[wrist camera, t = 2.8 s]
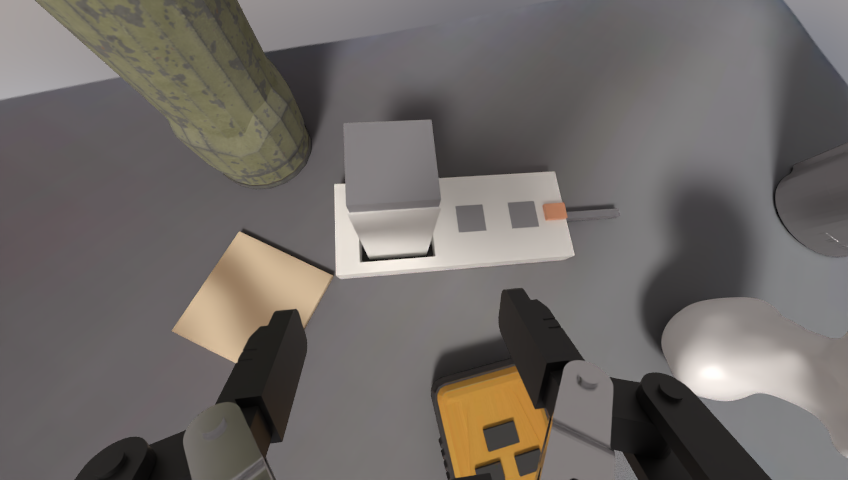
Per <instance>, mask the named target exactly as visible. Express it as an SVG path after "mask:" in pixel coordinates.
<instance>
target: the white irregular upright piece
mask: <svg viewBox="0 0 848 480" xmlns="http://www.w3.org/2000/svg"><path fill="white" fill-rule="evenodd" d="M661 345H662V350H663V353H664V356H665V358H666V360H667V363H668V365H669V367H670V369H671V372H672V374H673V376H674V377H675V379H677V380H679V381H681V382H682V383H683V384H685V385H686V386H687V387H688V388H690V389H691V390H692V391H693V393H694V394H695V395H697V396H700V397H704V398H708V399H713V400H718V401H732V400H737V399H741V398H744V397H747V396H749V395H752V394H754V393H765V394H770V395H773V396H776V397H779V398H781V399H784V400H786V401H789V402H791V403H793V404H795V405H797V406H799V407H801V408H803V409H805V410H807V411H808V412H810V413H812V414H813V415H814V416H816V417H817V418H818V419H819V420H820V421H821V422H822V423H823V424H824V425H825V426H826V428H827V429H828V431H829V433H830V437H831V440H832V443H833V445H834V446H835V448H836V449H837V450H838V451H839V452H840V453H841V454H842V455H843V456H845V457H846V458H848V332H847V333H846V334H845V335H844V336H843V337H842V338H829V337H826V336H823V335H820V334H817V333H815V332H812V331H809V330H807V329H805V328H803V327H802V326H800V325H798V324H797V323H795V322H793V321H791V320H789V319H787V318H785V317H783V316H782V315H781V314H780V313H779V311H778V310H777V309H776V308H775V307H773V306H772V305H771V304H769V303H767V302H765V301H763V300H760V299H756V298H749V297H730V298H717V299H709V300H704V301H699V302H696V303H693V304H691V305H689V306H687V307H685V308H684V309H682V310H681V311H679V312H678V313H677V314H676V315H674V316H673V317H672V318H671V320H670V321H669V322H668V324H667V325H666V327H665V329H664V331H663V335H662V340H661Z"/></svg>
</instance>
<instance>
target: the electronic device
mask: <svg viewBox="0 0 848 480" xmlns="http://www.w3.org/2000/svg"><path fill="white" fill-rule="evenodd" d="M431 397H432V402H433V406H434V411H435V415H436V419H437V424H438V428H439V433H440V439H439V443H440V446H441V448H443V449H442V450H441V452H442V456H443V459H444V465H445V469H446V471H447V473H446V475H447V478H448V480H452V479H454V478H459V477H466V476H472V475H479V474H486V473H490V474H491V478H492V480H535V476H536V472H537V468H538V463H539V459H540V455H541V450H542V446H543V442H544V438H545V433H546V429H547V425H548V421H549V413H548V411H547V409H546V408H542V409H535V408H534V406H533V404H532V401H531V399H530V397H529V395H528V393H527V390H526V388H525V386H524V384H523V381H522V379H521V377H520V375H519V372H518V370H517V368H516V366H515V364H514V361H513V359H512V358H510V359H507V360H503V361H499V362H496V363H492V364H489V365H485V366H481V367H478V368H474V369H471V370H467V371H463V372H460V373H456V374H453V375H449V376H445V377H442V378H440V379H438V380H437V381H435V383H434V384H433V386H432V388H431Z"/></svg>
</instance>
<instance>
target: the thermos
mask: <svg viewBox="0 0 848 480" xmlns="http://www.w3.org/2000/svg"><path fill="white" fill-rule="evenodd" d="M35 1H36V2H38V4H40V5H41V6H42V7H43V8H44V9H45V10H46V11H47V12H49V13H50V14H51V15H52V16H53V17H54V18H55V19H56V20H57V21H59V22H60V23H61V24H62V25H63V26H64V27H65V28H67V29H68V30H69V31H70V32H71V33H72V34H73V35H74V36H76V37H77V38H78V39H79V40H80V41H81V42H82V43H83V44H84V45H86V46H87V47H88V48H89V49H90V50H91V51H92V52H93V53H95V54H96V55H97V56H98V57H99V58H100V59H101V60H103V61H104V62H105V63H106V64H107V65H108V66H109V67H110V68H112V69H113V70H114V71H115V72H116V73H117V74H118V75H119V76H120V77H122V78H123V79H124V80H125V81H126V82H127V83H128V84H129V85H131V86H132V87H133V88H134V89H135V90H136V91H137V92H138V93H140V94H141V95H142V96H143V97H144V98H145V99H146V100H147V101H149V102H150V103H151V104H152V105H153V106H154V107H155V108H156V109H157V110H159V111H160V112H161V113H162V114H163V115H164V116H165V117H166V118H167V120H168V122H169V124H170V126H171V128H172V130H173V132H174V134H175V136H176V137H177V138H178V139H179V140H181V141H182V142H183V143H184V144H185V145H186V146H188V147H189V148H190V149H191V150H192V151H194V152H195V153H196V154H197V155H198V156H200V157H201V158H202V159H203V160H204V161H205V162H207V163H208V164H209V165H210V166H212V167H214V168H215V169H217V170H219V171H220V172H222V173H223V174H224V175H225V176H226V177H227V178H228V179H230V180H232V181H233V182H235V183H237V184H238V185H240V186H244V187H248V188H252V189H266V188H273V187H276V186H279V185H281V184H284V183H286V182H288V181H289V180H291V179H292V178H294V177H295V176H297V175H298V174H299V172H300V171H301V170H302V169H303V167H304V166H305V165H306V163H307V161H308V158H309V155H310V153H311V138H310V136H309V133H308V131H307V128H306V126H305V124H304V120H303V117H302V115H301V112H300V109H299V107H298V105H297V103H296V101H295V99H294V97H293V95H292V93H291V91H290V88H289V86H288V84H287V83H286V82H285V80H284V79H283V77H282V76H281V74H280V73H279V72H278V70H277V69H276V67H275V66H274V64H273V63H272V62H271V61H270V60H269V59H268V58H267V57H266V56H265V54H264V52H263V50H262V48H261V46H260V44H259V42H258V40H257V38H256V36H255V34H254V33H253V30H252V28H251V27H250V25H249V23H248V21H247V19H246V17H245V15H244V13H243V11H242V9H241V7H240V5H239V3H238V1H237V0H35Z"/></svg>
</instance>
